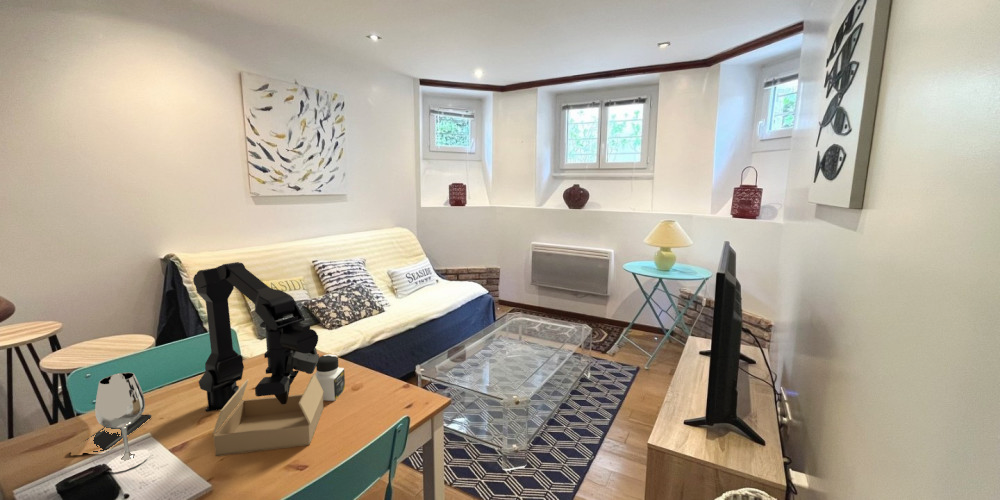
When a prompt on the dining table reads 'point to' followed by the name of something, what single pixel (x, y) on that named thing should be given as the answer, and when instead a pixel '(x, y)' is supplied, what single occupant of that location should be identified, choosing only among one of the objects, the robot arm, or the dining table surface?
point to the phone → (109, 440)
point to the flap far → (311, 398)
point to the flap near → (230, 406)
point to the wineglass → (119, 404)
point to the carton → (266, 426)
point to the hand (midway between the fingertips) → (284, 403)
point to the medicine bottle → (330, 377)
